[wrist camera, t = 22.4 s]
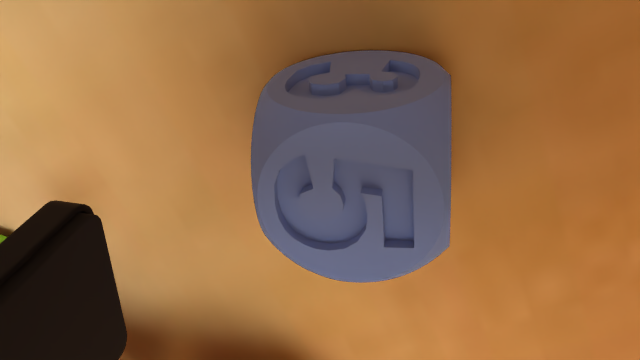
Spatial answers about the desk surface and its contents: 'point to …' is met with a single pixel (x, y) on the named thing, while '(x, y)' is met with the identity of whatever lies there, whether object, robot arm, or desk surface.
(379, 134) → the decorative dice
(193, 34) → the desk surface
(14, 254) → the robot arm
